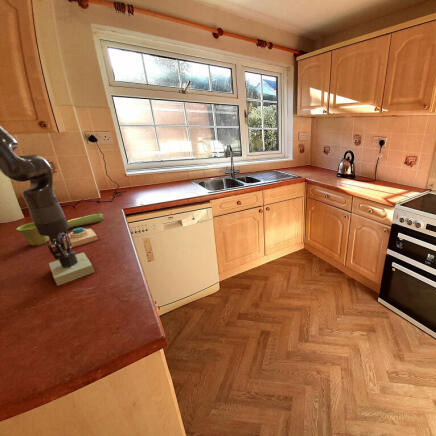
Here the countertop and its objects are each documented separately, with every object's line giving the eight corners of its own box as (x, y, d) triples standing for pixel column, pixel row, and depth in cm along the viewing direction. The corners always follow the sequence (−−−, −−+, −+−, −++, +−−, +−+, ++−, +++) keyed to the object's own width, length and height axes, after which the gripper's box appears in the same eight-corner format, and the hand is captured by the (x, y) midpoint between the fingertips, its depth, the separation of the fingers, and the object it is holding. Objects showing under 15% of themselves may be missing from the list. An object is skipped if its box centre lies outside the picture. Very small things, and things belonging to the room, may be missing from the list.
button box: (65, 239, 111) (62, 231, 110) (92, 232, 118) (89, 224, 116) (70, 247, 104) (66, 239, 102) (98, 239, 111) (95, 231, 109)
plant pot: (29, 250, 103) (19, 231, 100) (22, 245, 107) (13, 227, 104) (57, 241, 110) (49, 223, 107) (50, 236, 115) (42, 219, 112)
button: (73, 232, 109) (71, 229, 109) (83, 230, 112) (81, 226, 111) (74, 235, 107) (73, 231, 106) (84, 232, 110) (83, 228, 109)
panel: (51, 270, 88) (48, 262, 87) (86, 258, 95) (83, 251, 94) (57, 285, 79) (53, 277, 78) (94, 272, 86) (91, 264, 85)
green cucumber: (106, 221, 131) (103, 213, 130) (56, 233, 118) (53, 224, 117) (104, 218, 135) (101, 211, 133) (56, 230, 122) (52, 221, 120)
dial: (71, 260, 88) (67, 249, 87) (81, 261, 87) (76, 250, 86) (58, 266, 84) (53, 256, 83) (68, 267, 83) (63, 257, 82)
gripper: (40, 214, 83) (59, 257, 89) (26, 228, 72) (49, 276, 78) (68, 209, 86) (85, 251, 93) (59, 222, 75) (79, 269, 82)
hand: (69, 262), depth 86 cm, fingers closed on dial, 4 cm apart
